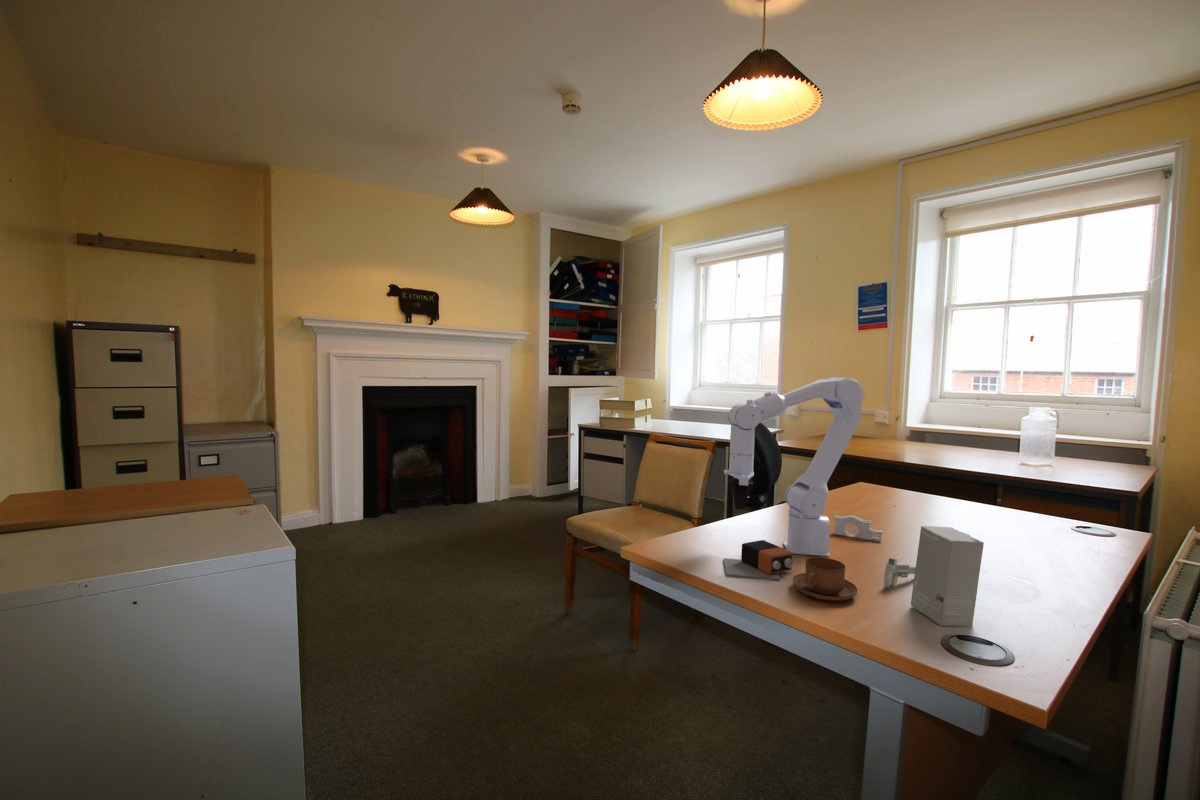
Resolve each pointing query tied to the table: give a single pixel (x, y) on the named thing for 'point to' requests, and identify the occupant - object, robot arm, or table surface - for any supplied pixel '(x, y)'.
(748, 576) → the mat
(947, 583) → the skincare box
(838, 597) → the cup and saucer
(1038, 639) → the table surface
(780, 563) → the battery
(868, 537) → the garden wall model
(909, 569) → the caliper
